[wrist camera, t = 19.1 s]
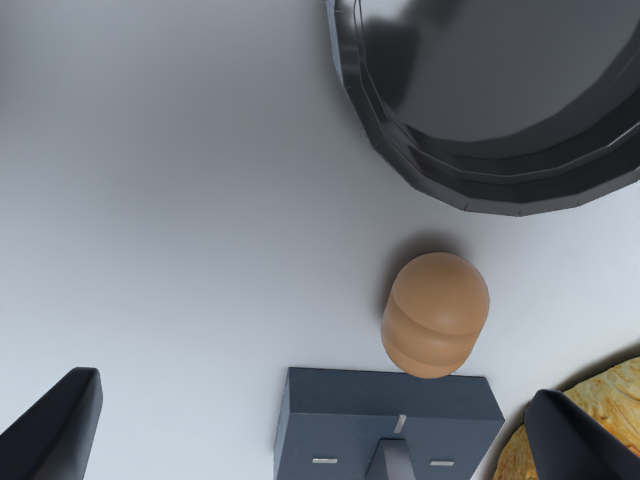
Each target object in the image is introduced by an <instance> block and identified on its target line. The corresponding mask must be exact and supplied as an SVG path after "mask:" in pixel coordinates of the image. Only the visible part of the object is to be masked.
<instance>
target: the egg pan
mask: <svg viewBox="0 0 640 480" xmlns="http://www.w3.org/2000/svg"><path fill="white" fill-rule="evenodd" d="M325 1H326V8H327V16H328V23H329V31H330V38H331V45H332V53H333V60H334V65H335V68H336V71H337V73H338V76H339V78H340V81H341V83H342V86H343V88H344V91H345V93H346V95H347V97H348V99H349V101H350V103H351V106H352V108H353V110H354V112H355V114H356V116H357V118H358V120H359V122H360V124H361V127H362V129H363V131H364V133H365V135H366V137H367V139H368V141H369V143H370V145H371V146H372V148H373V150H374V151H375V152H377V153H378V154H379V155H380V156H381V157H382V158H383V159H384V160H385V161H386V162H387V163H388V164H389V165H390V166H391V167H392V168H393V169H394V170H395V171H396V172H397V173H398V174H399V175H400V176H401V177H402V178H403V179H404V180H405V181H406V182H407V183H408V184H409V185H410V186H411V187H413V188H414V189H416V190H418V191H420V192H422V193H425V194H427V195H429V196H431V197H433V198H436V199H438V200H440V201H442V202H444V203H447V204H449V205H451V206H453V207H455V208H458V209H460V210H464V211H468V212H478V213H487V214H496V215H506V216H515V217H518V216H519V217H522V216H528V215H533V214H539V213H545V212H551V211H557V210H563V209H569V208H574V207H577V206H581V205H584V204H586V203H588V202H591V201H593V200H595V199H598V198H600V197H602V196H605V195H607V194H609V193H612V192H614V191H616V190H619V189H621V188H623V187H626V186H628V185H631V184H633V183H635V182H637V181H638V180H640V0H325Z"/></svg>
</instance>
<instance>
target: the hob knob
mask: <svg viewBox="0 0 640 480" xmlns="http://www.w3.org/2000/svg"><path fill="white" fill-rule="evenodd" d="M365 480H416V479H415V474H414V470H413V466H412V462H411V458H410V454H409V450H408V446H407V442H406V440H385V439H382V440H381V441H380V443H379V446H378V448H377V451H376V453H375V456H374V458H373V461H372V463H371V466H370V468H369V471H368V473H367V476H366V478H365Z"/></svg>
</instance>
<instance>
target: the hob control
mask: <svg viewBox="0 0 640 480" xmlns="http://www.w3.org/2000/svg"><path fill="white" fill-rule="evenodd" d="M504 422H505V419H504V417H503V414H502V412H501V410H500V408H499V406H498V403H497V401H496V399H495V397H494V395H493V393H492V390H491V388H490V386H489V384H488V382H487V379H486V378H480V377H461V376H443V377H439V378H419V377H416V376H413V375H410V374H401V373H381V372H362V371H342V370H322V369H302V368H289V369H288V374H287V380H286V385H285V391H284V396H283V402H282V407H281V413H280V419H279V424H278V430H277V435H276V441H275V446H274V480H365V478H366V476H367V473H368V471H369V468H370V466H371V463H372V461H373V458H374V456H375V453H376V451H377V448H378V446H379V443H380V441H381V440H382V439H385V440H406V442H407V446H408V450H409V454H410V458H411V462H412V466H413V470H414V474H415V479H416V480H470V478H471V477H472V475H473V473H474V472H475V470H476V468H477V467H478V465H479V464H480V462H481V460H482V459H483V457H484V455H485V454H486V452H487V450H488V449H489V447H490V445H491V444H492V442H493V440H494V439H495V437H496V435H497V434H498V432H499V430H500V429H501V427H502V425H503V424H504Z"/></svg>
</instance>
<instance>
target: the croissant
mask: <svg viewBox="0 0 640 480" xmlns="http://www.w3.org/2000/svg"><path fill="white" fill-rule="evenodd" d="M562 393H563V394H565V395H566V396H567V397H568V398H569V399H570V400H572V401H573V402H574V403H575V404H576V405H578V406H579V407H580V408H581V409H582V410H583V411H585V412H586V413H587V414H588V415H589V416H591V417H592V418H593V419H594V420H595V421H597V422H598V423H599V424H600V425H601V426H602V427H604V428H605V429H606V430H607V431H608V432H610V433H611V434H612V435H613V436H614V437H615V438H617V439H618V440H619V441H620V442H621V443H623V444H624V445H625V446H626V447H627V448H629V449H630V450H631V451H632V452H633V453H634V454H636V455H637V456H638V457H639V458H640V357H636V358H633V359H630V360H627V361H625V362H623V363H621V364H618V365H616V366H614V367H613V368H609V369H608V370H607V371H605V372H603V373H601V374H599V375H596V376H594V377H592V378H590V379H588V380H585V381H583V382H581V383H579V384H577V385H576V386H574V387H573V388H572V389H570V390H567V391H564V392H562ZM493 480H538V476H537V472H536V468H535V465H534V461H533V457H532V453H531V449H530V446H529V442H528V438H527V434H526V430H525V427H524V424H523V425H521V426H520V427H519V428H518V429H517V430H516V432H515V433H514V434H513V435H512V436H511V438H510V440H509V442H508V443H507V445H506V446H505V447H504V449H503V450H502V452H501V455H500V457H499V460H498V465H497V470H496V472H495V474H494V477H493Z"/></svg>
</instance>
